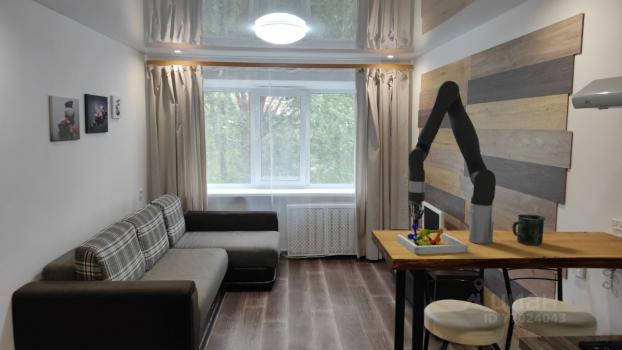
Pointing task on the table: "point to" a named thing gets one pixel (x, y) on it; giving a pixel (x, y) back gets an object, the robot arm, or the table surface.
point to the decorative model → (424, 233)
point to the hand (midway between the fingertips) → (415, 227)
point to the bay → (435, 246)
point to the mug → (529, 229)
